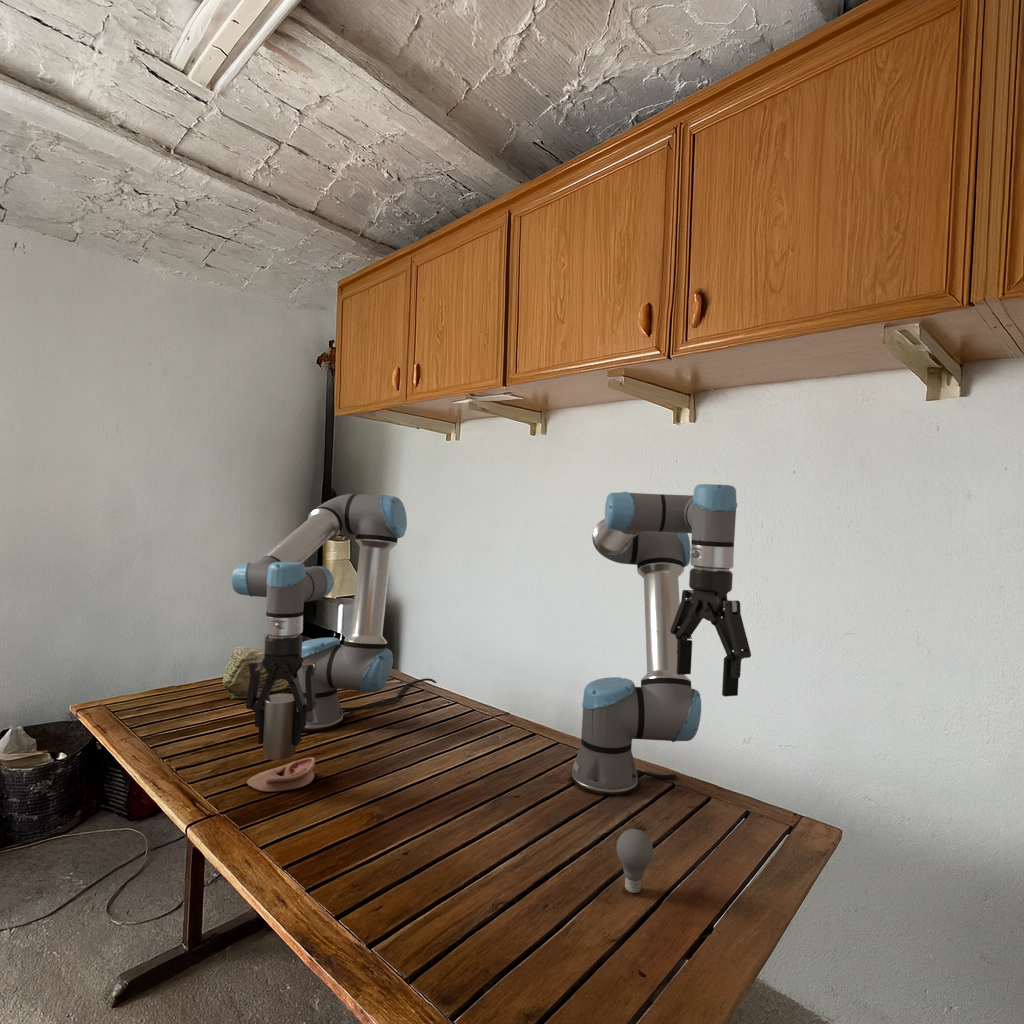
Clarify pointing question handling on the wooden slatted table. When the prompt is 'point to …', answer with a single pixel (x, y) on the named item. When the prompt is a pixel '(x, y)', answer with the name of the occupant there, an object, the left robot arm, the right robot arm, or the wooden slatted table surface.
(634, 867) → the light bulb
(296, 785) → the anatomical model
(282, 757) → the canister
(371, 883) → the wooden slatted table surface
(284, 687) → the fossil
